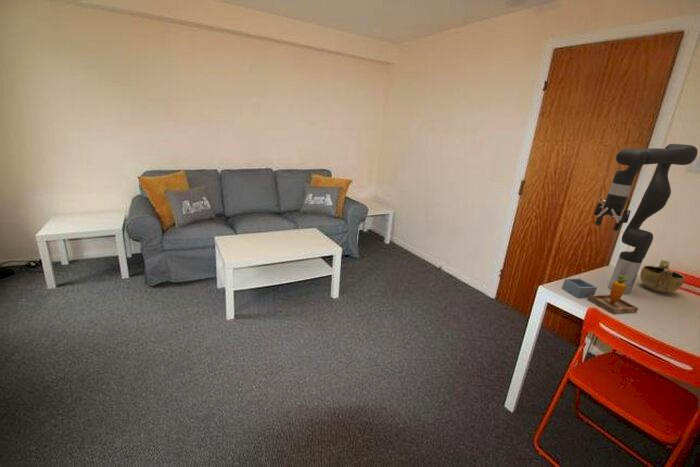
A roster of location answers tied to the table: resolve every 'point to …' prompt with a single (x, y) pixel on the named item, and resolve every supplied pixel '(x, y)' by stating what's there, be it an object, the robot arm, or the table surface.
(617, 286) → the carrot
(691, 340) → the table surface
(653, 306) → the table surface
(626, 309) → the tray
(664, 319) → the table surface
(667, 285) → the tan woven basket
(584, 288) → the blue-grey square box
